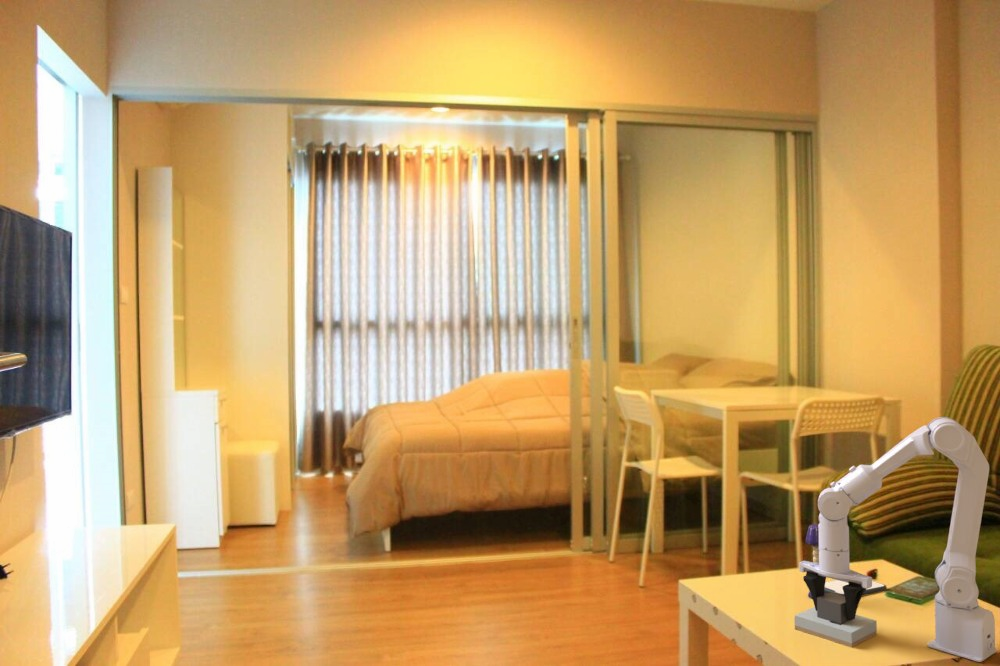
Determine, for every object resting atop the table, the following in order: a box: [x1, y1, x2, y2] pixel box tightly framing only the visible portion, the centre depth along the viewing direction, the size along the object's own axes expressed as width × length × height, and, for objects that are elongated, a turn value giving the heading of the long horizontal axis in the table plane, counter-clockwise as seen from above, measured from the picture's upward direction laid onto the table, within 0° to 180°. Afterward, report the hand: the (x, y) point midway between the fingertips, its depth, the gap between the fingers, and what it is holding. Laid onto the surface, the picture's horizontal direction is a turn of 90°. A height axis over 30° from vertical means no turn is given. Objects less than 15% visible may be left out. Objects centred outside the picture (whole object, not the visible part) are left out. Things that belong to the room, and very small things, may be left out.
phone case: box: [824, 579, 888, 597], centre depth 179 cm, size 9×2×16 cm
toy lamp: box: [805, 524, 827, 600], centre depth 174 cm, size 5×5×17 cm
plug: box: [817, 592, 849, 625], centre depth 154 cm, size 5×5×6 cm
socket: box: [794, 606, 878, 648], centre depth 154 cm, size 12×10×3 cm
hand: (835, 614), depth 154 cm, fingers open, 6 cm apart
